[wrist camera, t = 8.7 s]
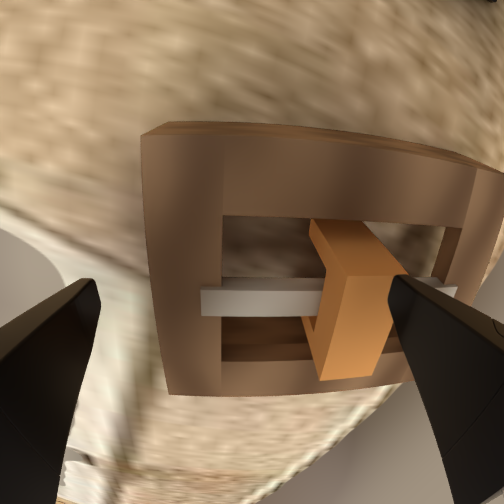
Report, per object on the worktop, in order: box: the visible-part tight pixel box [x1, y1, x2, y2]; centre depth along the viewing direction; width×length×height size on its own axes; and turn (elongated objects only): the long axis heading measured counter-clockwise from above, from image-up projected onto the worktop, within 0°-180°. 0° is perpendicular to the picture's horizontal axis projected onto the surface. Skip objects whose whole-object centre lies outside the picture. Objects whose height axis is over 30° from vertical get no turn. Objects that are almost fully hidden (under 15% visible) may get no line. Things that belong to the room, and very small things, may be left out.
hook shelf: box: [141, 121, 504, 397], centre depth 19 cm, size 20×16×7 cm
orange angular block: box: [301, 218, 409, 381], centre depth 17 cm, size 3×6×6 cm, turn 177°
